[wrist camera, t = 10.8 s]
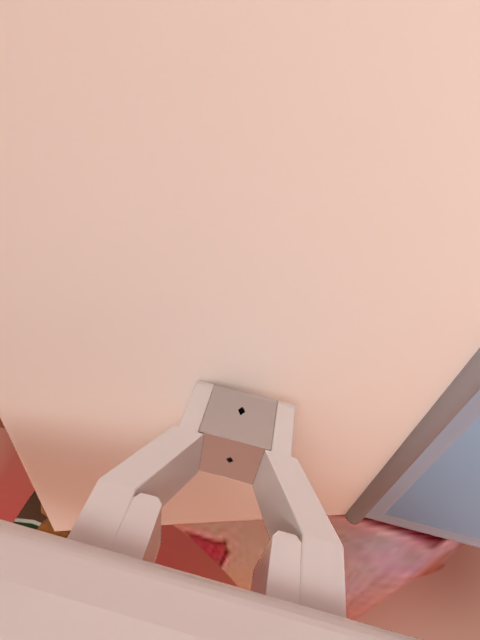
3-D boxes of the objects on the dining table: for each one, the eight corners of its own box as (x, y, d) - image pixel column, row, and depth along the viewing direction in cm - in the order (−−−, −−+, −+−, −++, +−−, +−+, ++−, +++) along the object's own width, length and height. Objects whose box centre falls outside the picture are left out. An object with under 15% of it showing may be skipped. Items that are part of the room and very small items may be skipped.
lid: (50, 544, 15) (59, 511, 16) (363, 524, 18) (353, 497, 18) (-432, -373, 3) (-264, -264, 4) (837, 9, 5) (733, 12, 6)
